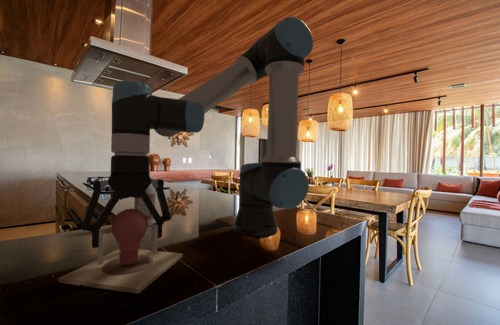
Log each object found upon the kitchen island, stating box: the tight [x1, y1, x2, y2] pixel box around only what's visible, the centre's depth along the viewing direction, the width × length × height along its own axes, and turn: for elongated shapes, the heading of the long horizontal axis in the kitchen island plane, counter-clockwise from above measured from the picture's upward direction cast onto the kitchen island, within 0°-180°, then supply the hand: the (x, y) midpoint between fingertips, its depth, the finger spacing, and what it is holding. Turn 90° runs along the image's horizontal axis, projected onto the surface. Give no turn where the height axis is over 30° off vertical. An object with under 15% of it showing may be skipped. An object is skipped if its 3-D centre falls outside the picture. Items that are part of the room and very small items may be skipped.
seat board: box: [58, 248, 184, 294], centre depth 53 cm, size 17×17×1 cm
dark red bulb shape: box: [110, 208, 148, 265], centre depth 53 cm, size 7×7×12 cm
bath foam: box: [133, 169, 157, 227], centre depth 88 cm, size 7×7×20 cm
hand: (128, 257), depth 53 cm, fingers open, 10 cm apart
